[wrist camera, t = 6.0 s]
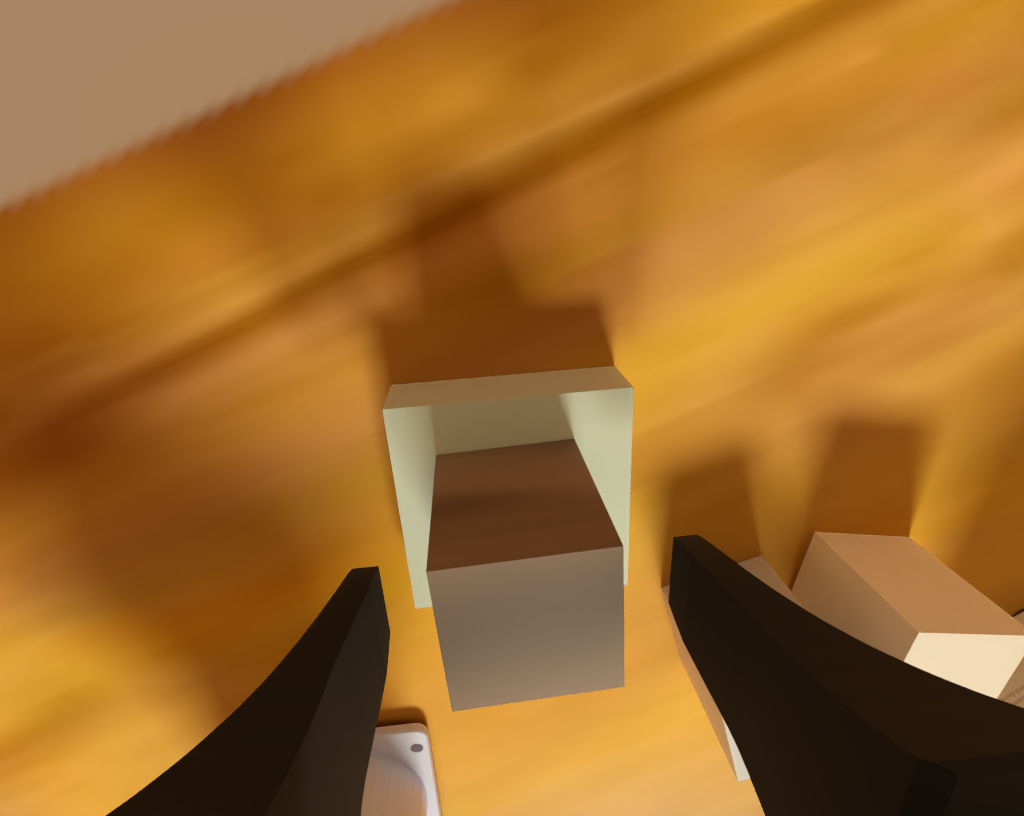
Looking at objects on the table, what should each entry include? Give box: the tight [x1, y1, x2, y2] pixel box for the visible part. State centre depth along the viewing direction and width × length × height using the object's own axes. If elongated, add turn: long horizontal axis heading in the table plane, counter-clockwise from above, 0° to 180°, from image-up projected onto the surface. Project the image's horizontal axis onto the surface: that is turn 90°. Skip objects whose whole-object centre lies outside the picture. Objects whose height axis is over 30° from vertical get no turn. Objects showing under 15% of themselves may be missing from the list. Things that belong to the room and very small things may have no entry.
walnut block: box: [426, 439, 624, 711], centre depth 14 cm, size 4×4×5 cm
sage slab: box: [382, 366, 633, 609], centre depth 17 cm, size 7×7×2 cm
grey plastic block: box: [661, 555, 806, 782], centre depth 19 cm, size 4×4×5 cm
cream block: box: [791, 532, 1024, 699], centre depth 19 cm, size 4×4×5 cm
